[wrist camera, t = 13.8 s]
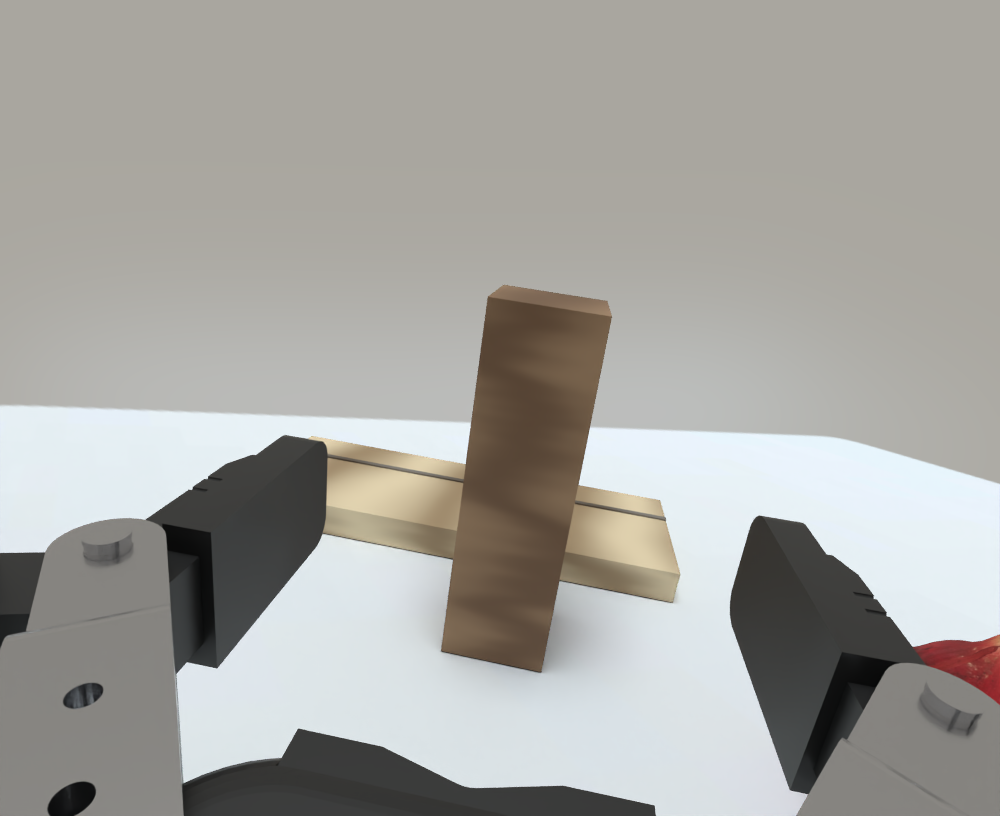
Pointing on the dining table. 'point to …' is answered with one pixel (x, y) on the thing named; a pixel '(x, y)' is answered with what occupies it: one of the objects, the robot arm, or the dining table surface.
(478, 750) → the dining table surface
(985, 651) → the onion
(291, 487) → the robot arm
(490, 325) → the block
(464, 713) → the dining table surface
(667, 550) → the board
